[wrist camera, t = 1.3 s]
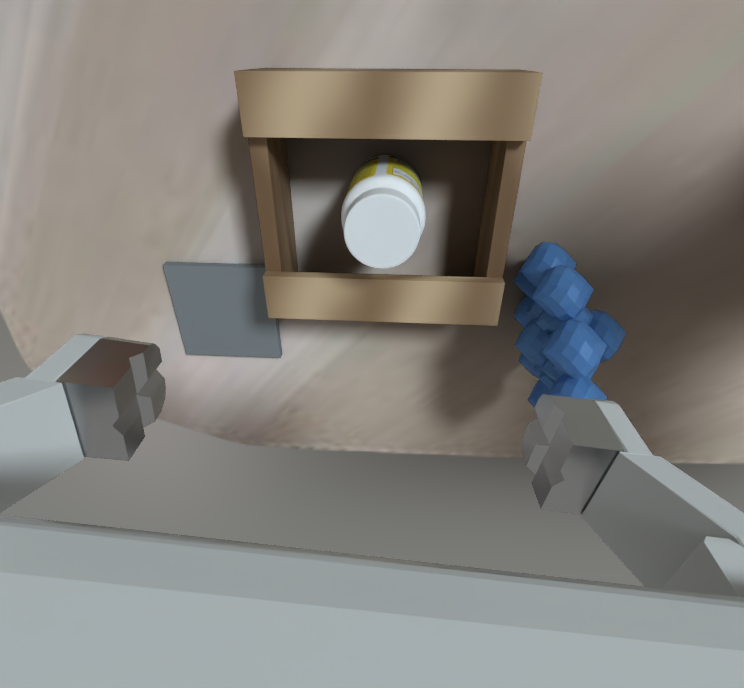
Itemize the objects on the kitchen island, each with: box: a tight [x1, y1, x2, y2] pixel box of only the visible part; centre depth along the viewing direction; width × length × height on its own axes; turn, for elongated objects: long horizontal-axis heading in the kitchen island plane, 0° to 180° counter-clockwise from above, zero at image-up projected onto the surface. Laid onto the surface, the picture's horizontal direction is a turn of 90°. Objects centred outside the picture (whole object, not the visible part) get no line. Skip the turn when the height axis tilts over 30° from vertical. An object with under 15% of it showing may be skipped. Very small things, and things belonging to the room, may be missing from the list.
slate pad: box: [163, 262, 282, 358], centre depth 36 cm, size 8×8×1 cm
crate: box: [234, 68, 543, 326], centre depth 28 cm, size 15×14×5 cm
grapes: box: [513, 242, 626, 407], centre depth 28 cm, size 12×7×12 cm, turn 10°
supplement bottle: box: [341, 155, 426, 269], centre depth 27 cm, size 5×5×8 cm
